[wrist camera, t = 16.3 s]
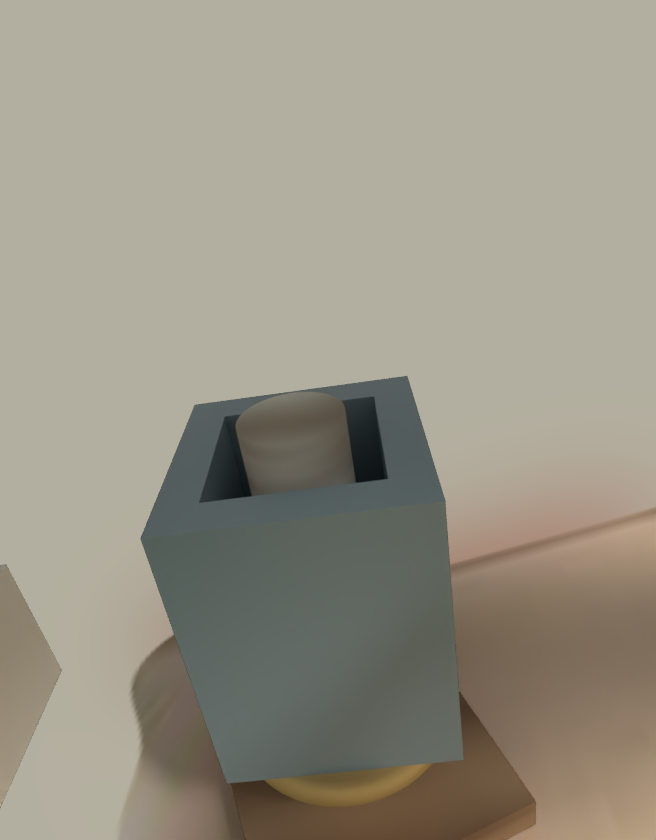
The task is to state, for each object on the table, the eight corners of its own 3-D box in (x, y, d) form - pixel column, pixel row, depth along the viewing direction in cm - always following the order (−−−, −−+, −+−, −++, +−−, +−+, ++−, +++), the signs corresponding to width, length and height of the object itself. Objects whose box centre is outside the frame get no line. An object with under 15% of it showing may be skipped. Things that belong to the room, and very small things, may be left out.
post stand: (535, 823, 25) (540, 436, 17) (276, 958, 23) (134, 575, 14) (410, 637, 35) (374, 329, 27) (216, 716, 32) (109, 401, 24)
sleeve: (463, 759, 22) (445, 500, 17) (226, 783, 22) (140, 538, 17) (427, 590, 29) (407, 376, 24) (250, 611, 30) (194, 405, 25)
